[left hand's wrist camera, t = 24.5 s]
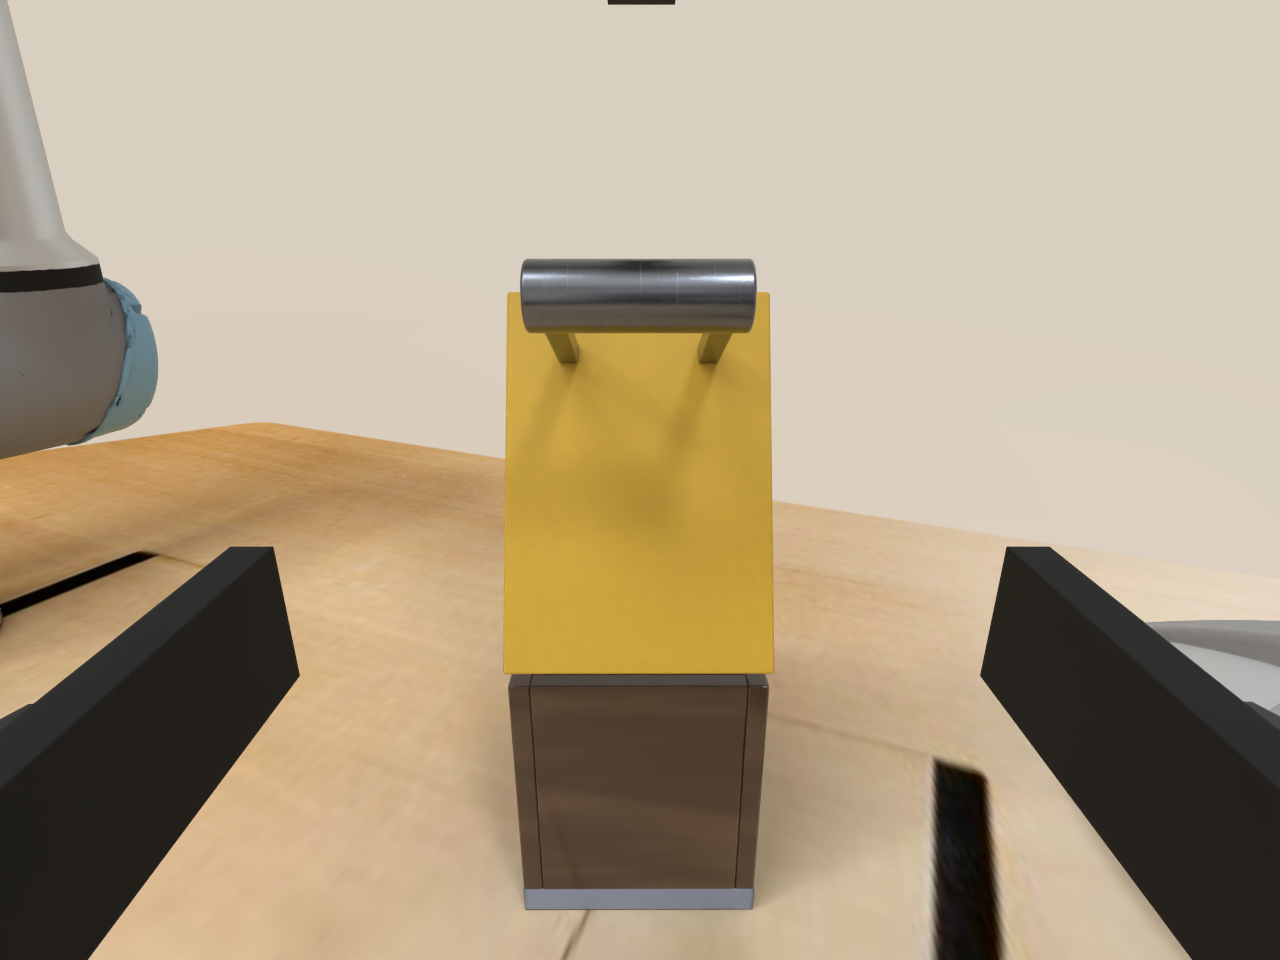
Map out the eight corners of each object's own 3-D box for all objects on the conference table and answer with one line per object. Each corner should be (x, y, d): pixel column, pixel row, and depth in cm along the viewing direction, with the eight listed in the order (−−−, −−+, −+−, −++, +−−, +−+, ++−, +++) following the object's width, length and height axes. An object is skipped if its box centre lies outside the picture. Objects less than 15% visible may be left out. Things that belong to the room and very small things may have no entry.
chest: (558, 706, 40) (550, 535, 37) (718, 705, 40) (727, 534, 37) (525, 909, 28) (507, 687, 25) (752, 909, 28) (770, 686, 25)
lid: (513, 302, 26) (452, 195, 17) (763, 302, 26) (825, 196, 17) (509, 666, 25) (443, 742, 17) (767, 666, 25) (834, 741, 17)
